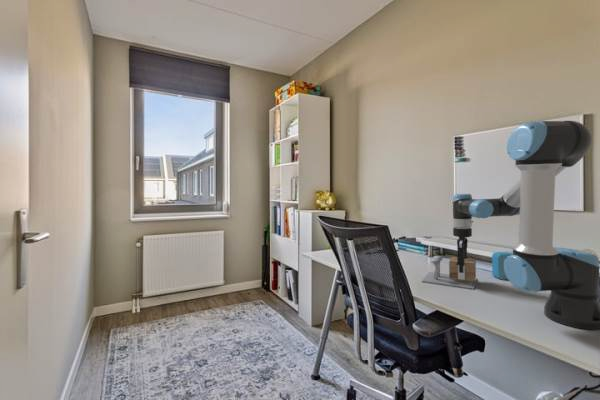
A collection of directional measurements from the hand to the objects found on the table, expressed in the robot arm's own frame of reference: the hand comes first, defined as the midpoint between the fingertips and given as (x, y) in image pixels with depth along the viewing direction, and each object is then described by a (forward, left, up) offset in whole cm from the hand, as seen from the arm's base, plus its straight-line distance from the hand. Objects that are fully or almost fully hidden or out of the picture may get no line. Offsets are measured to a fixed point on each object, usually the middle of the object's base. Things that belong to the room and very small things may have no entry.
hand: (462, 276), depth 138 cm
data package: (+17, -17, -3) cm, 24 cm away
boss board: (0, +5, -3) cm, 6 cm away
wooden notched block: (0, 0, 0) cm, 0 cm away
